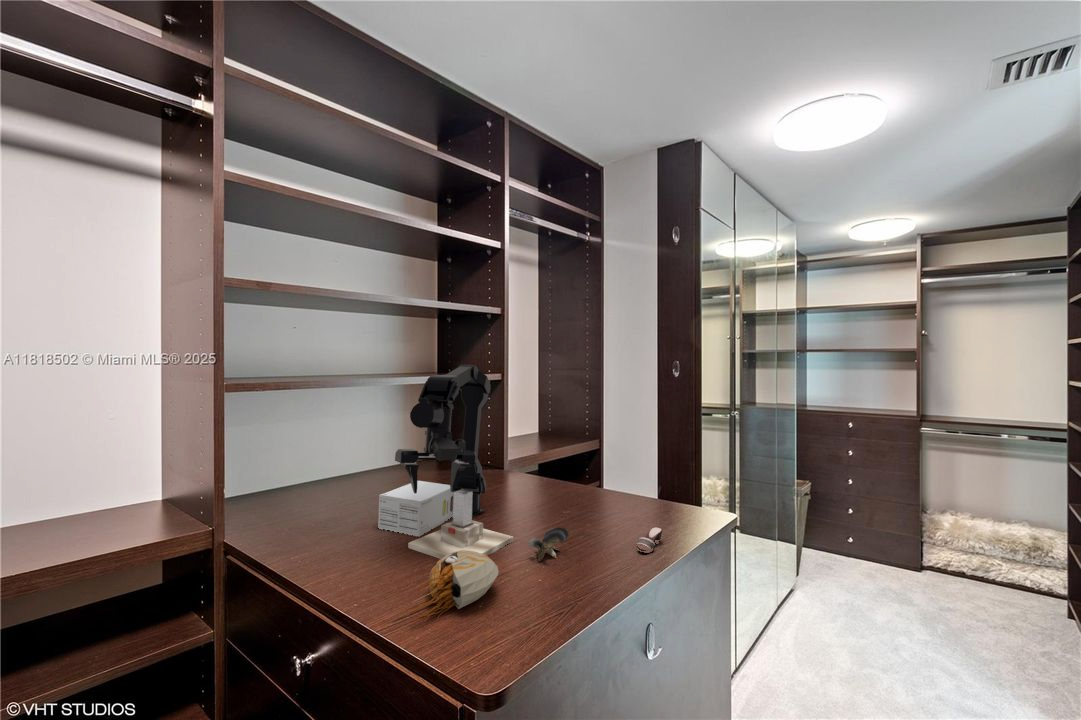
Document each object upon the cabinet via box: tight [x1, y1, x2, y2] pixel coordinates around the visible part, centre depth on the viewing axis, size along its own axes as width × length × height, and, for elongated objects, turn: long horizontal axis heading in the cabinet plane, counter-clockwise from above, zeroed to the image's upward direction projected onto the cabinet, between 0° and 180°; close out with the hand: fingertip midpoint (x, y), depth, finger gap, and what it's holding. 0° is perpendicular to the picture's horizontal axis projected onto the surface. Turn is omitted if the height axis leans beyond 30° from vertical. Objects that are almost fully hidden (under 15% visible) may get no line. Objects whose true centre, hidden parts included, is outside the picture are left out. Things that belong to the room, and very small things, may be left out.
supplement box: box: [377, 480, 454, 538], centre depth 135 cm, size 17×13×9 cm
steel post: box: [452, 489, 473, 529], centre depth 120 cm, size 4×4×12 cm
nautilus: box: [407, 550, 499, 622], centre depth 94 cm, size 8×22×15 cm
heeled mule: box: [635, 526, 663, 551], centre depth 122 cm, size 4×11×4 cm, turn 142°
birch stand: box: [407, 519, 514, 560], centre depth 120 cm, size 18×18×5 cm
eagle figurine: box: [528, 526, 570, 562], centre depth 115 cm, size 8×7×9 cm
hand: (433, 492), depth 119 cm, fingers open, 9 cm apart
